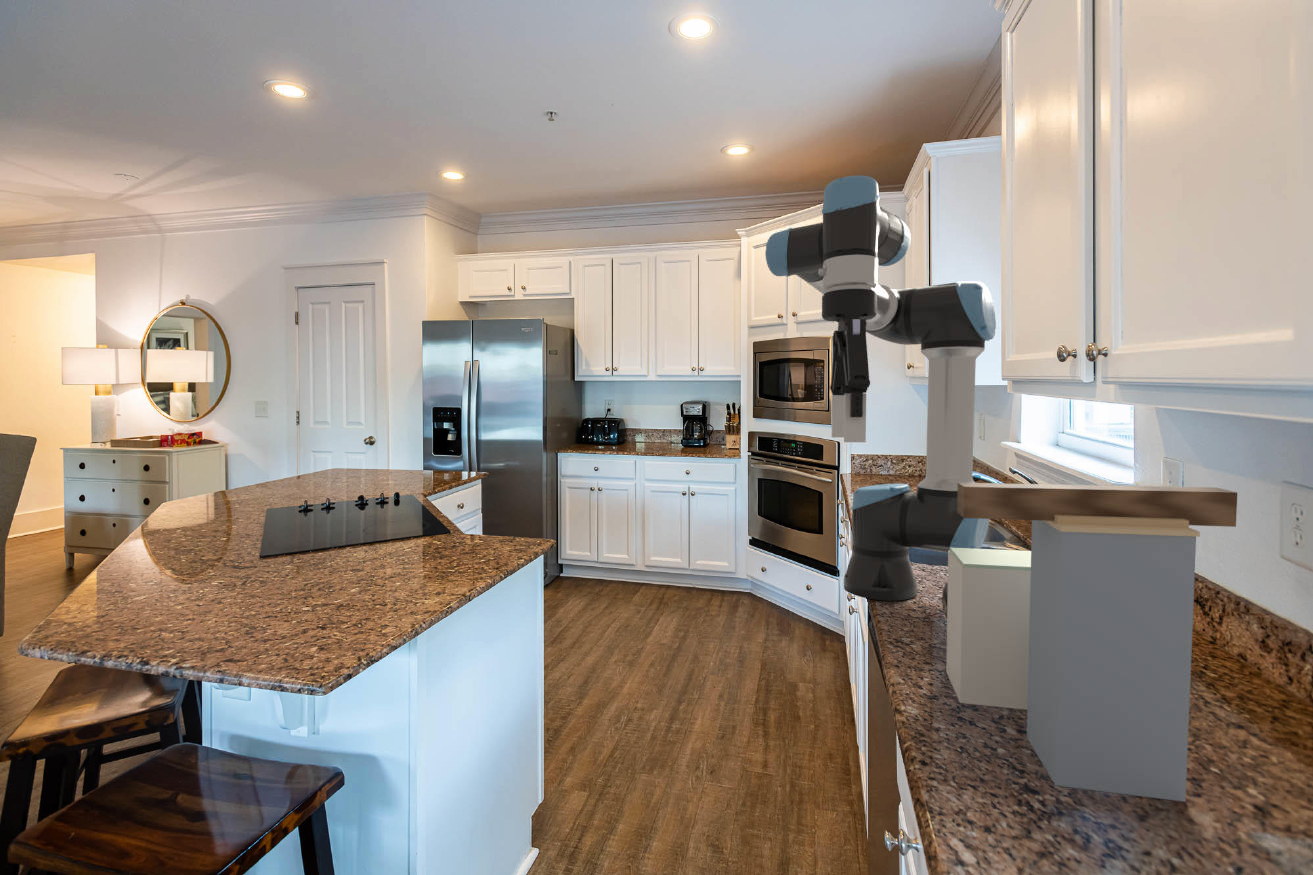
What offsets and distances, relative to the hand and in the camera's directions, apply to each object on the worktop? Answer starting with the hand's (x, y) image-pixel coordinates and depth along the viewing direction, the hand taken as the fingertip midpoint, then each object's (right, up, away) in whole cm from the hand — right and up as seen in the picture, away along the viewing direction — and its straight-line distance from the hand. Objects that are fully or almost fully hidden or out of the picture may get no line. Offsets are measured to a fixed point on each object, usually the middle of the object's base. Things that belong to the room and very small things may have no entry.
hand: (847, 439), depth 91 cm
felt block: (+25, -36, -2) cm, 44 cm away
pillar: (+23, -37, -19) cm, 48 cm away
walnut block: (+21, -9, -21) cm, 30 cm away
